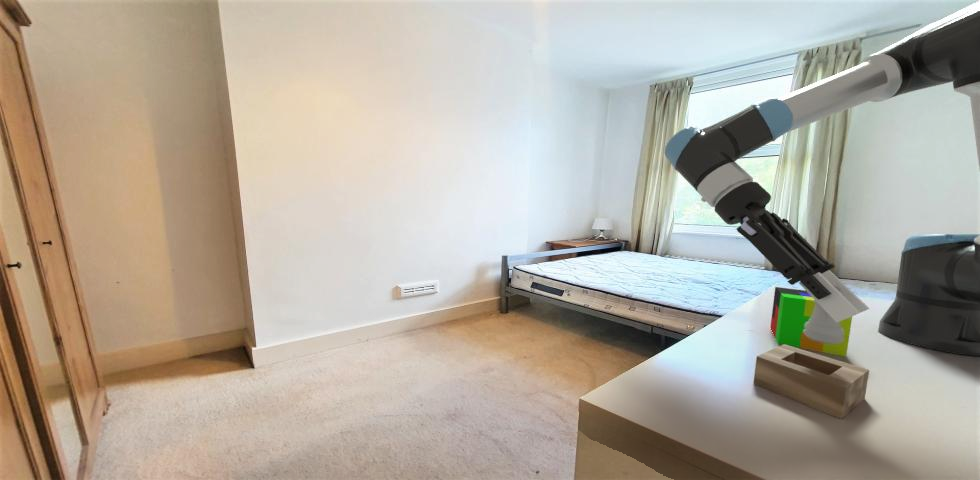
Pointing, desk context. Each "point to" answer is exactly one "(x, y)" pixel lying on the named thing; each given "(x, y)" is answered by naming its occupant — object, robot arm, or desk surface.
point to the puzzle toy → (801, 322)
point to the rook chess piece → (823, 326)
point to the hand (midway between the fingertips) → (853, 315)
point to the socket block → (812, 379)
